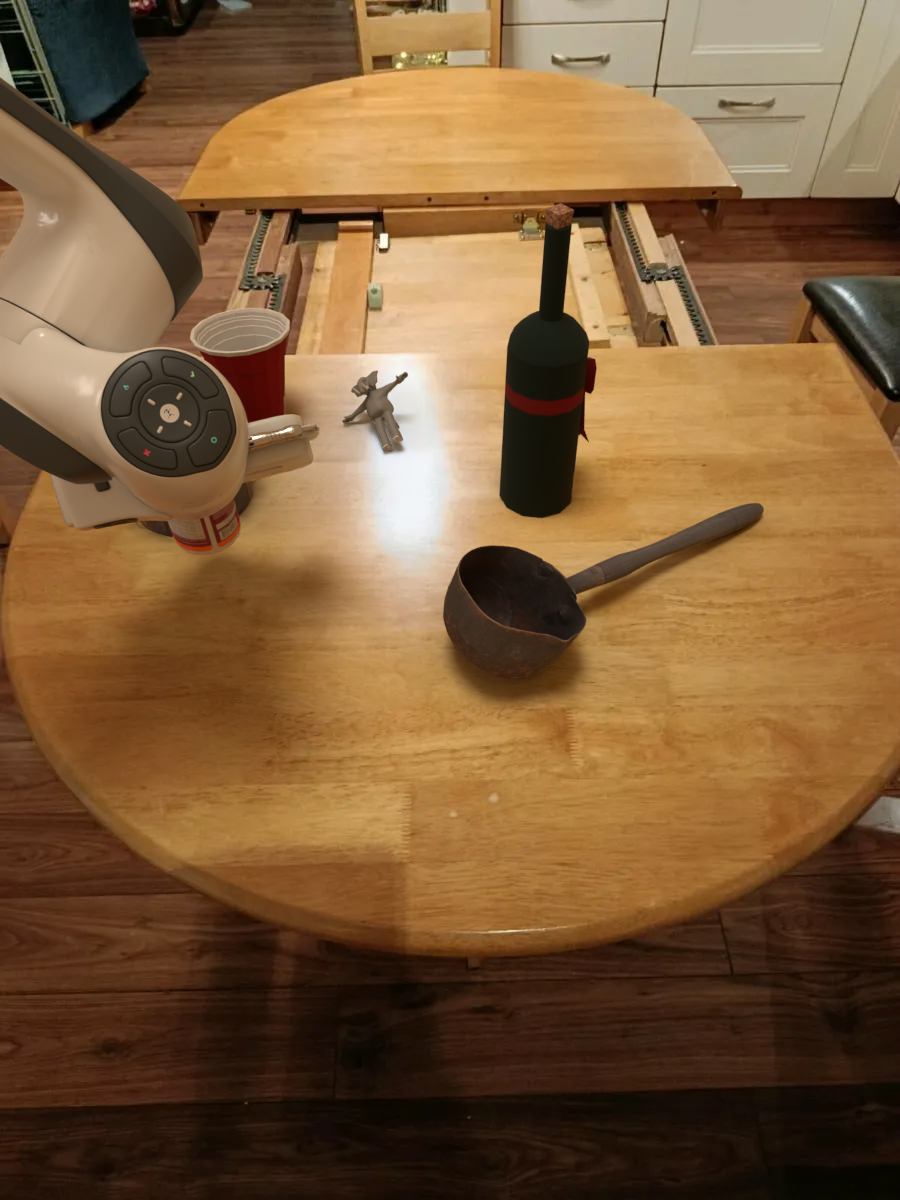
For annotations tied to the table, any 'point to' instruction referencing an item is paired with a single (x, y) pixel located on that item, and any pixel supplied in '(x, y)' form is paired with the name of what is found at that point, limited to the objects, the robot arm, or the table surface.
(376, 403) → the elephant figurine
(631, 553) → the ladle
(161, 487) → the robot arm
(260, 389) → the plastic cup
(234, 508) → the pill bottle
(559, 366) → the wine bottle
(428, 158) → the table surface
